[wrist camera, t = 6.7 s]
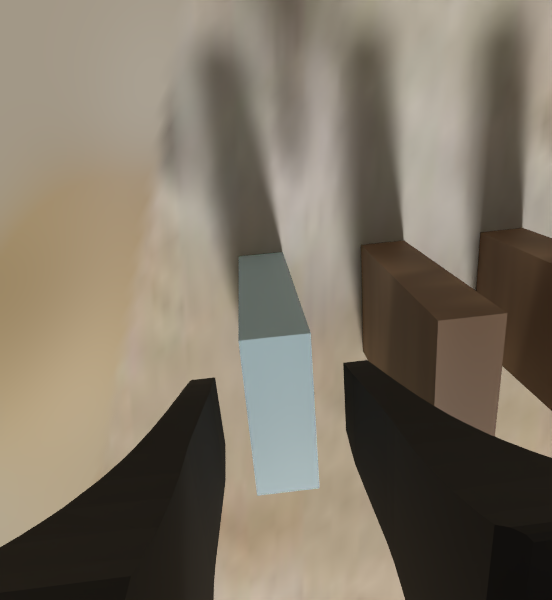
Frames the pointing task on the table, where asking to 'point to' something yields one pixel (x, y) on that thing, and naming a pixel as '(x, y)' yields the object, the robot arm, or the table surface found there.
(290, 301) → the teal domino
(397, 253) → the domino
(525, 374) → the domino
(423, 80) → the table surface
